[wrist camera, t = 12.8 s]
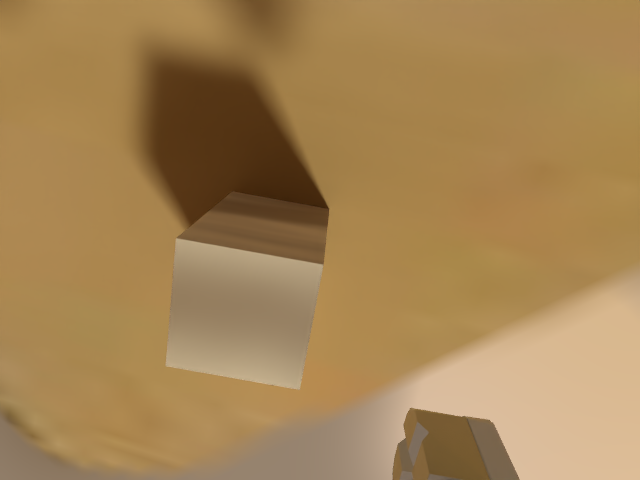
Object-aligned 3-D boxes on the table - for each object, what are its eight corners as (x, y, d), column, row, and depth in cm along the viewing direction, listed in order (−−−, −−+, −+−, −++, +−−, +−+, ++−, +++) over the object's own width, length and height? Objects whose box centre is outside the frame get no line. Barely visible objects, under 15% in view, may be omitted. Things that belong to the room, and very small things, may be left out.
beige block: (232, 191, 18) (176, 238, 12) (329, 208, 18) (323, 264, 12) (221, 280, 19) (165, 366, 13) (312, 297, 19) (299, 389, 13)
